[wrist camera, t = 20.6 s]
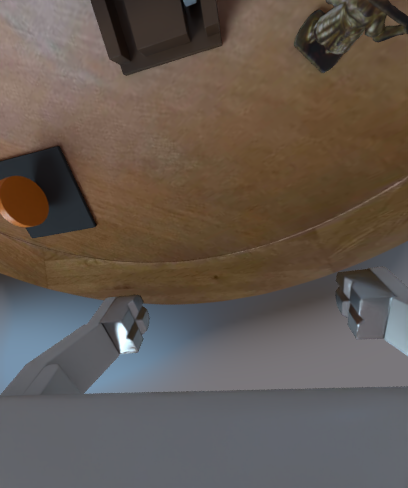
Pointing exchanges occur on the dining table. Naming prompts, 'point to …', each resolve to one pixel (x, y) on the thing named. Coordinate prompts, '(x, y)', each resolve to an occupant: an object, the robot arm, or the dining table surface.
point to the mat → (52, 191)
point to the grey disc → (189, 2)
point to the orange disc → (22, 202)
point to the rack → (156, 30)
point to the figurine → (346, 29)
